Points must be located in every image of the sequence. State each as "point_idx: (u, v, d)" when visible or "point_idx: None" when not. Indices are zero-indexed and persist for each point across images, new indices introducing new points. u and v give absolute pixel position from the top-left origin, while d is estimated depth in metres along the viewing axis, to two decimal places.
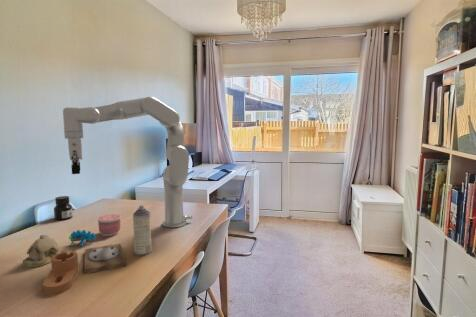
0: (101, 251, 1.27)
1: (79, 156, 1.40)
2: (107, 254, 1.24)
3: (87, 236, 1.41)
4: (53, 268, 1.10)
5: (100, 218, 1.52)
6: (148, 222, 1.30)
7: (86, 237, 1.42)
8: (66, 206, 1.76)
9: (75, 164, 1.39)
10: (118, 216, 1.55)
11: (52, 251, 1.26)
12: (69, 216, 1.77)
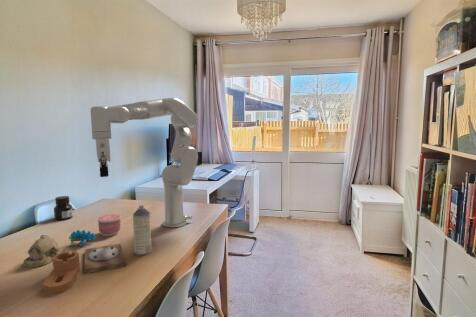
0: (101, 251, 1.27)
1: (107, 158, 1.33)
2: (107, 254, 1.24)
3: (87, 236, 1.41)
4: (54, 268, 1.10)
5: (100, 218, 1.52)
6: (148, 222, 1.30)
7: (86, 237, 1.41)
8: (66, 206, 1.76)
9: (103, 166, 1.31)
10: (118, 216, 1.55)
11: (53, 251, 1.26)
12: (69, 216, 1.77)
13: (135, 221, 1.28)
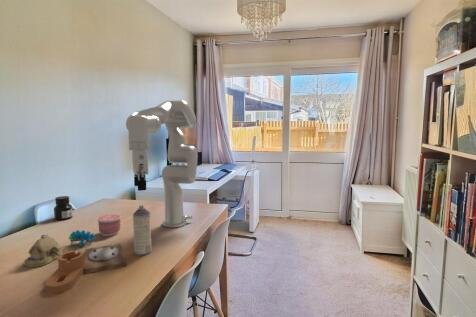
0: (101, 251, 1.27)
1: (146, 170, 1.24)
2: (107, 254, 1.24)
3: (87, 236, 1.41)
4: (59, 267, 1.11)
5: (100, 218, 1.52)
6: (148, 222, 1.30)
7: (86, 237, 1.41)
8: (66, 206, 1.76)
9: (142, 179, 1.23)
10: (118, 216, 1.55)
11: (53, 251, 1.27)
12: (69, 216, 1.77)
13: (135, 221, 1.28)
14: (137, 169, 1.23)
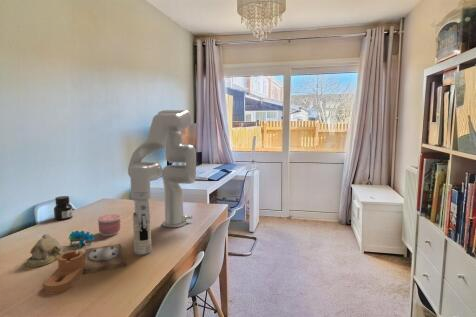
0: (101, 251, 1.27)
1: (148, 220, 1.27)
2: (107, 254, 1.24)
3: (86, 237, 1.40)
4: (59, 266, 1.11)
5: (100, 218, 1.52)
6: None
7: (85, 238, 1.41)
8: (66, 206, 1.76)
9: (144, 231, 1.27)
10: (118, 216, 1.55)
11: (55, 250, 1.27)
12: (69, 216, 1.77)
13: (135, 221, 1.28)
14: (139, 219, 1.25)
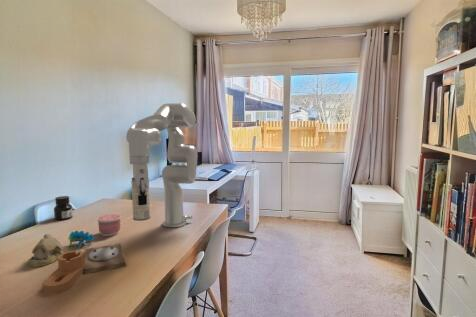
0: (101, 251, 1.27)
1: (147, 184, 1.25)
2: (107, 254, 1.24)
3: (86, 237, 1.40)
4: (59, 266, 1.11)
5: (100, 218, 1.52)
6: None
7: (85, 238, 1.41)
8: (66, 206, 1.76)
9: (142, 195, 1.25)
10: (118, 216, 1.55)
11: (56, 250, 1.27)
12: (69, 216, 1.77)
13: (133, 185, 1.26)
14: (138, 183, 1.24)
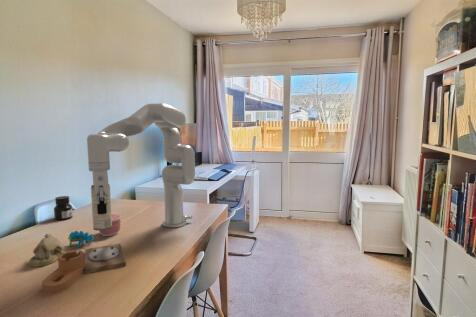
0: (101, 251, 1.27)
1: (106, 192, 1.19)
2: (107, 254, 1.24)
3: (85, 237, 1.40)
4: (58, 266, 1.11)
5: None
6: (107, 195, 1.22)
7: (85, 238, 1.41)
8: (66, 206, 1.76)
9: (102, 203, 1.19)
10: (118, 216, 1.55)
11: (57, 250, 1.28)
12: (69, 216, 1.77)
13: (93, 193, 1.20)
14: (96, 191, 1.17)
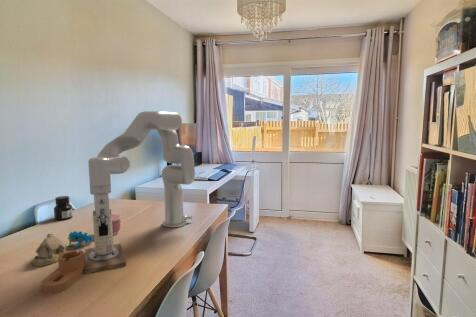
0: None
1: (107, 215, 1.20)
2: None
3: (84, 237, 1.39)
4: None
5: None
6: (109, 220, 1.23)
7: (84, 238, 1.40)
8: (66, 206, 1.76)
9: (103, 225, 1.19)
10: (118, 216, 1.55)
11: (59, 249, 1.28)
12: (69, 216, 1.77)
13: (94, 219, 1.22)
14: (98, 214, 1.19)
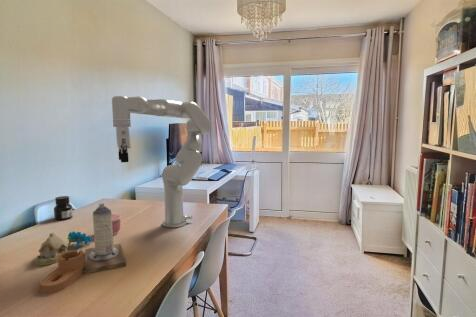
0: None
1: (128, 144, 1.41)
2: None
3: (83, 238, 1.39)
4: (58, 265, 1.12)
5: None
6: (109, 221, 1.23)
7: (83, 239, 1.40)
8: (66, 206, 1.76)
9: (124, 152, 1.40)
10: (118, 216, 1.55)
11: (61, 248, 1.29)
12: (69, 216, 1.77)
13: (94, 220, 1.21)
14: (120, 143, 1.40)
